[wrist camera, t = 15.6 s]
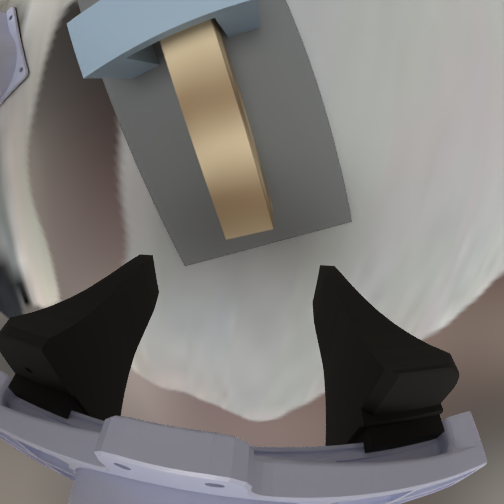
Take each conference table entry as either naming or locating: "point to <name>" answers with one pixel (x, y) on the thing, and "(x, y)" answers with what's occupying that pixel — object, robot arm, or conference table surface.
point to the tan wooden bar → (219, 128)
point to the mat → (264, 133)
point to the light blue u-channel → (146, 31)
